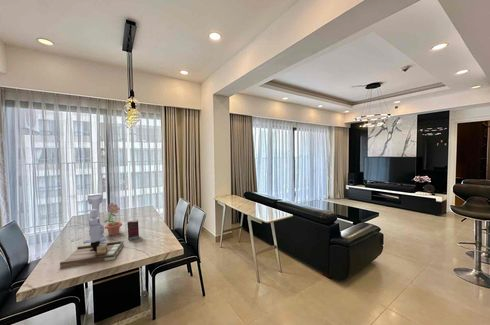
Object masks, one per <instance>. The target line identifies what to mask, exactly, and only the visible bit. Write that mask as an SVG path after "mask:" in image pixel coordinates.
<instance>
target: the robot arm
mask: <svg viewBox="0 0 490 325" xmlns="http://www.w3.org/2000/svg"><path fill="white" fill-rule="evenodd" d="M87 202H88V205H91V210H90V212H89V219H88V226H89V227H88V229H89V231H88V232H89V233H88V234H89V237H90V238H88V239H85V240H83V244H84V245H85V244H89V245H91V246H92V247H93V249H94V252H96V251H97V247H98V246H99V244H103V243H106V242H107V240H108V238H107V237H104V233H105V231H104V230H105V226H104V223H101V218H100V204H101V203H103V193H102V192H101V193H91V194H87Z"/></svg>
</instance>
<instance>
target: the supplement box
mask: <svg viewBox="0 0 490 325" xmlns="http://www.w3.org/2000/svg"><path fill="white" fill-rule="evenodd" d="M139 233H140V230H139V219H134V220H130V221H127V238H128V241H131V240H136V239H140V234H139Z"/></svg>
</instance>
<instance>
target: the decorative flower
mask: <svg viewBox="0 0 490 325" xmlns="http://www.w3.org/2000/svg"><path fill="white" fill-rule="evenodd" d="M107 210H108V212H109V213H110V214H109V216H108V218H107V219H105V221H104V223H105V226H104V229H107V233H108V236H115V235H118V234H119V233H120V227H121V226H123V223H122V222H121V221H115V220H113V218H112V217H116V214H118V213H119V211H120V210H121V209H120V207H118V205H117V204H116V203H115V204H114V202H111V203H109V204H108V206H107ZM107 222H108V223H107ZM106 223H107V224H106Z"/></svg>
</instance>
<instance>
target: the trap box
mask: <svg viewBox="0 0 490 325" xmlns="http://www.w3.org/2000/svg"><path fill="white" fill-rule="evenodd" d="M106 243H107V251H106V252H105V253H98V254H97V251H96V252H94V249H93V247H92V246H91V245H90V244H89V245H88V244H87V245H80V246H77V248H76V250H75V251H74V252H72V253H71V254H70V255H69V256H68V257H67V258H66V259H65V260H63V261H60V262H59V268H66V267H67V268H68V267H73V266H79V265H80V266H81V265H87V264H92V263H93V264H94V263H99V262H106V261H113V260H115V259H116V258H117V256H118V254H119V253H120V251H121V250H122V248H123V247H124V243H125V242H124V240H122V241H121V240H120V241H112V242H105V243H103V244H106Z"/></svg>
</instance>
